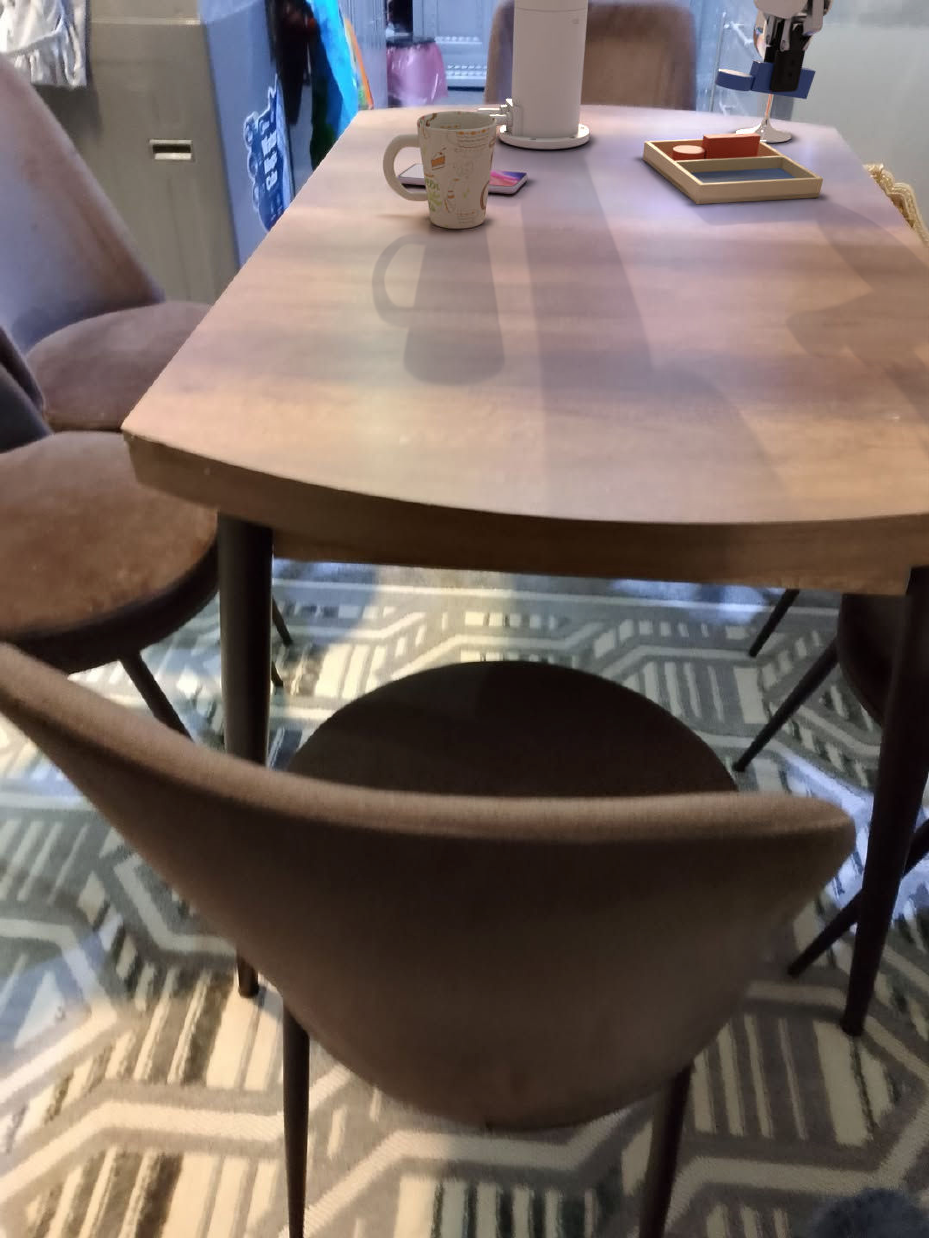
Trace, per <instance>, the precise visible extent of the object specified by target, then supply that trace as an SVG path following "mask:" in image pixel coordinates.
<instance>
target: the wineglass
mask: <svg viewBox="0 0 929 1238" xmlns="http://www.w3.org/2000/svg"><path fill="white" fill-rule="evenodd" d="M804 15H807V14H805V13H802V12H801V13H798V16H804ZM796 25H797V24H796ZM795 27H796V26H795ZM767 29H768V26H767V21H766V19H765V18H764V16H763V12H762V11H760V10H758V9H757V13H756V18H755V21H754V26H753V31H752V33H753V34H752V39H753V40H752V41H753V46H754V48H755V52H756V53H757V55H758V56H759V57H760V59H761V61H764V56H765V51H766V46H767V45H766V34H767ZM813 38H814V34H813V35H812V37H811V38H810V42H809V45H811V43H812V40H813ZM774 96H775V95H774V94H767V101H766V106H765V111H764V115H763V117H762V120H761V122H760V123H759V125H758V126H756V127H755V126H754V127H753V126H752V127H751V126H750V127H744V128H741V129H738V130H736V132H735V133H757V134H758V135H760V136H761V137H760V140H761V141H762V142H764V143H765V144H776V143H783V142H786V141H790V140H791V138H792V135H791V133H789V132H787V131H785V130H782V129H779V128H773V126H772V125H771V121H770V119H771V118H770V117H771V110H772V107H773V106H772V105H773V101H774Z"/></svg>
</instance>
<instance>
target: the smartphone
mask: <svg viewBox="0 0 929 1238" xmlns="http://www.w3.org/2000/svg"><path fill="white" fill-rule="evenodd" d="M396 177H397V179H398V180H399V182H400V183H401V184H406V185H417V186H425V179H424V172H423V165H422V163H413V164H412V165H410V166H409V167H408V168H406V169H405V170H404V171H402V172H401V173H400V174H398V175H397V176H396ZM528 178H529V176H528V173H527V172H521V171H512V170H511V171H510V170H499V169H498V170H497V169H491V175H490V182H489V190H488V193H496V194H505V195H510V194H511V195H512V194H514V193H516V192H517V191H518V190H519V189H520V187H521V186H523V185H524V183H526V182H527V180H528Z"/></svg>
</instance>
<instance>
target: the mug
mask: <svg viewBox="0 0 929 1238" xmlns="http://www.w3.org/2000/svg"><path fill="white" fill-rule="evenodd" d="M416 128H417V133H404V134H399V135H397V136H395V137H393V138H392V140H391V141H390V142H389V143H388V144H387V147H386V149H385V151H384V154H383V160H382V172H383V175H384V178H385V180H386V182H387V185H388V186H390V188H391V190H392V191H394V192H395V193H396V194H397V195H399V196H400V197H401V198H403V199H404V200H407V201H411V202H427V205H428V212H429V219H430V222H431V223H432V224H433V225H435V226H437V227H441V228H445V229H453V230H454V229H457V230H459V229H469V228H474V227H477V226H480V225H482V224H483V223H484V221H485V219H486V211H487V205H488V198H489V192H488V190H489V182H490V175H491V170H492V167H493V159H494V152H495V144H496V137H497V128H498V126H497V121H496V119H495V118H494V117H492V116H490V115H487V114H483V113H478V112H477V111H467V110H450V111H449V110H448V111H446V110H445V111H438V112H432V113H427V114H424V115H422V116H420V117H418V118H417V120H416ZM404 148H419V151H420V157H421V164H422V165H423V172H424V179H425V185H424V186H425V192H414V191H413V192H412V191H409V190H408V189H406V188H405V187H404V185H402V183H400V182H399V180H398V179H397V177H398V176H397V175H396V172H395V160H396V157H397V156H398V154H399V153H400V152H401V151H402V150H403V149H404Z"/></svg>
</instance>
